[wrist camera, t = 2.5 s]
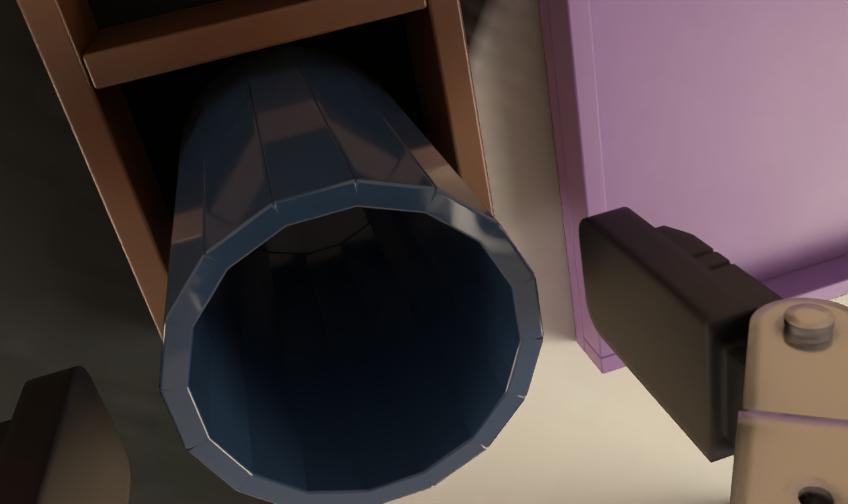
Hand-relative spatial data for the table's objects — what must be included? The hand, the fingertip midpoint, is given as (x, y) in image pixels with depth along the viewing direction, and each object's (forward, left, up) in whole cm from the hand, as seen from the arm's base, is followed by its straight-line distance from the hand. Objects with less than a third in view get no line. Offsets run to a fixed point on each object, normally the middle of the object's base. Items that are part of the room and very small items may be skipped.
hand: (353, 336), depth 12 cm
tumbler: (0, 0, -8) cm, 8 cm away
